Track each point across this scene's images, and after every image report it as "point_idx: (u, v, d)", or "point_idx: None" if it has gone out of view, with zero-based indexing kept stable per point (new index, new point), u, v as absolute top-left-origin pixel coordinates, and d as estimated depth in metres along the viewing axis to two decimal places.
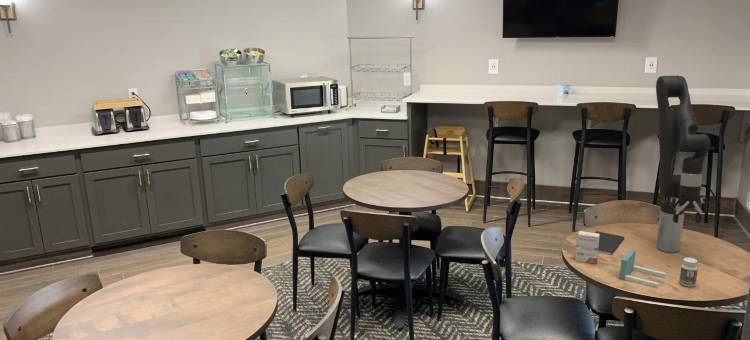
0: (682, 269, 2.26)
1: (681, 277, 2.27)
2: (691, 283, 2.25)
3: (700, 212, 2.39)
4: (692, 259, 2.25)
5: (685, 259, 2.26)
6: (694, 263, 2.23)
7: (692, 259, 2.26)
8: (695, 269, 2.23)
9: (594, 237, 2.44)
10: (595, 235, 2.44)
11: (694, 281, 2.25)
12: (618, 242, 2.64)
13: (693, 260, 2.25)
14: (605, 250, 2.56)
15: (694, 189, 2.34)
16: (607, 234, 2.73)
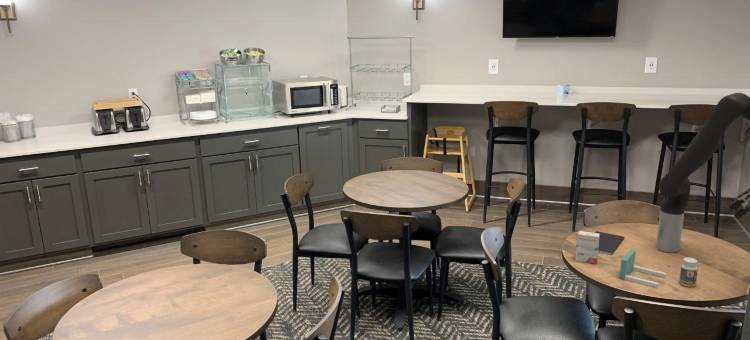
0: (682, 269, 2.26)
1: (681, 277, 2.27)
2: (691, 283, 2.25)
3: (743, 203, 2.20)
4: (692, 259, 2.25)
5: (685, 259, 2.26)
6: (694, 263, 2.23)
7: (691, 259, 2.26)
8: (695, 269, 2.23)
9: (594, 237, 2.44)
10: (595, 235, 2.44)
11: (694, 281, 2.25)
12: (618, 242, 2.64)
13: (693, 260, 2.25)
14: (605, 250, 2.56)
15: None
16: (607, 234, 2.73)
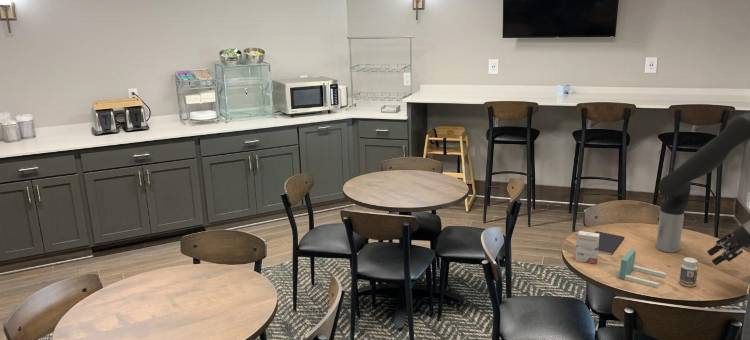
0: (682, 269, 2.26)
1: (681, 277, 2.27)
2: (691, 283, 2.25)
3: None
4: (692, 259, 2.25)
5: (685, 259, 2.26)
6: (694, 263, 2.23)
7: (692, 259, 2.26)
8: (695, 269, 2.23)
9: (594, 237, 2.44)
10: (595, 235, 2.44)
11: (694, 281, 2.25)
12: (618, 242, 2.64)
13: (693, 260, 2.25)
14: (605, 250, 2.56)
15: None
16: (607, 234, 2.73)
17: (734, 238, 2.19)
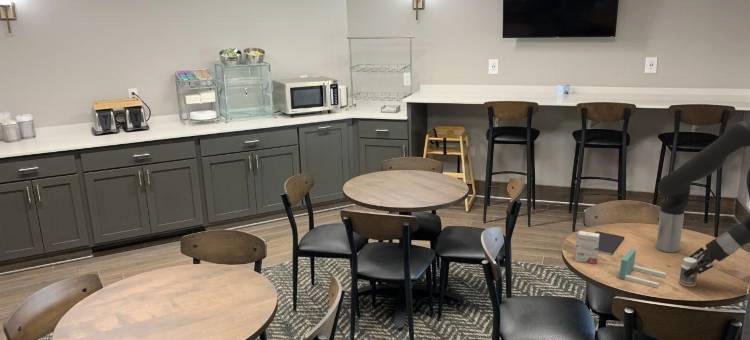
0: (682, 269, 2.26)
1: (681, 277, 2.27)
2: (691, 283, 2.25)
3: None
4: (692, 259, 2.25)
5: (685, 259, 2.26)
6: (694, 263, 2.23)
7: (691, 259, 2.26)
8: None
9: (594, 237, 2.44)
10: (595, 235, 2.44)
11: (694, 281, 2.25)
12: (618, 242, 2.64)
13: (693, 260, 2.25)
14: (605, 250, 2.56)
15: None
16: (607, 234, 2.73)
17: (707, 251, 2.23)
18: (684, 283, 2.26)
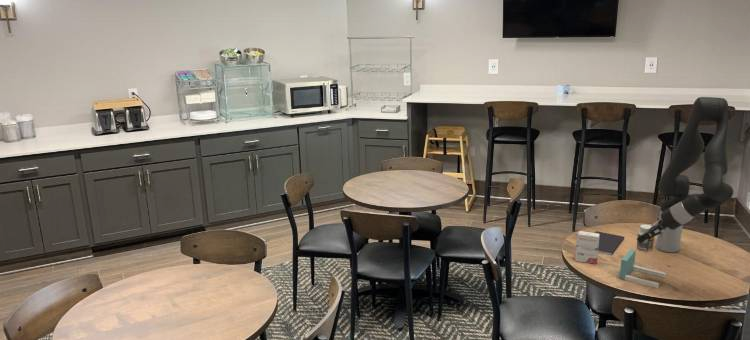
0: (638, 235, 2.29)
1: (637, 243, 2.30)
2: (645, 249, 2.28)
3: None
4: (649, 226, 2.28)
5: (642, 225, 2.29)
6: (648, 229, 2.26)
7: (649, 226, 2.28)
8: None
9: (594, 237, 2.44)
10: (595, 235, 2.44)
11: (648, 248, 2.27)
12: (618, 242, 2.64)
13: (649, 227, 2.28)
14: (605, 250, 2.56)
15: None
16: (607, 234, 2.73)
17: None
18: (639, 249, 2.29)
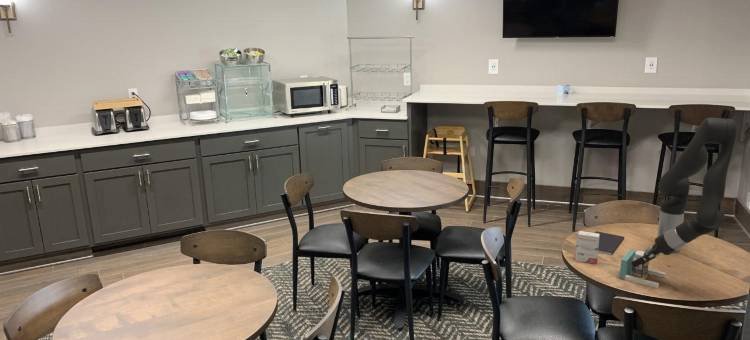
0: None
1: (632, 269, 2.34)
2: (639, 275, 2.31)
3: None
4: None
5: (637, 252, 2.33)
6: None
7: None
8: None
9: (594, 237, 2.44)
10: (595, 235, 2.44)
11: (643, 274, 2.31)
12: (618, 242, 2.64)
13: None
14: (605, 250, 2.56)
15: (675, 250, 2.23)
16: (607, 234, 2.73)
17: None
18: (633, 275, 2.33)
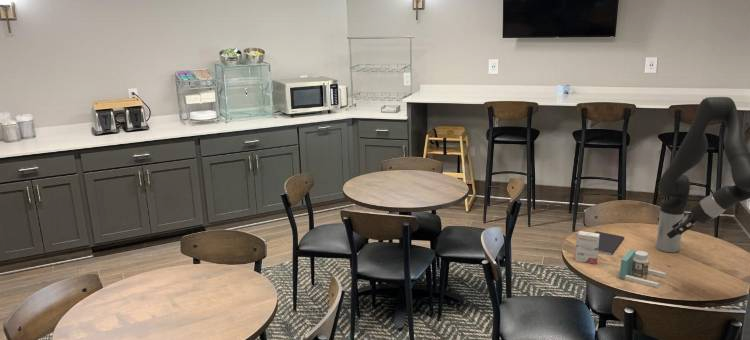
0: (633, 261, 2.33)
1: (632, 269, 2.34)
2: (639, 275, 2.31)
3: None
4: (644, 253, 2.32)
5: (637, 252, 2.33)
6: (643, 256, 2.30)
7: (643, 253, 2.32)
8: (643, 262, 2.30)
9: (594, 237, 2.44)
10: (595, 235, 2.44)
11: (643, 274, 2.31)
12: (618, 242, 2.64)
13: (644, 253, 2.31)
14: (605, 250, 2.56)
15: (712, 218, 2.14)
16: (607, 234, 2.73)
17: None
18: (633, 275, 2.33)
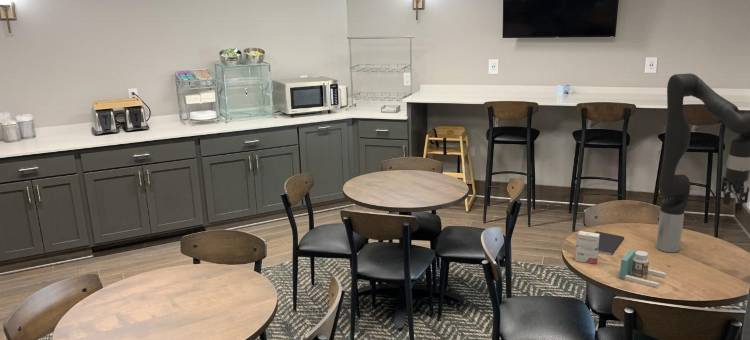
0: (633, 261, 2.33)
1: (632, 269, 2.34)
2: (639, 275, 2.31)
3: None
4: (644, 253, 2.32)
5: (637, 252, 2.33)
6: (643, 256, 2.30)
7: (643, 253, 2.32)
8: (643, 262, 2.30)
9: (594, 237, 2.44)
10: (595, 235, 2.44)
11: (643, 274, 2.31)
12: (618, 242, 2.64)
13: (644, 253, 2.31)
14: (605, 250, 2.56)
15: None
16: (607, 234, 2.73)
17: None
18: (633, 275, 2.33)
